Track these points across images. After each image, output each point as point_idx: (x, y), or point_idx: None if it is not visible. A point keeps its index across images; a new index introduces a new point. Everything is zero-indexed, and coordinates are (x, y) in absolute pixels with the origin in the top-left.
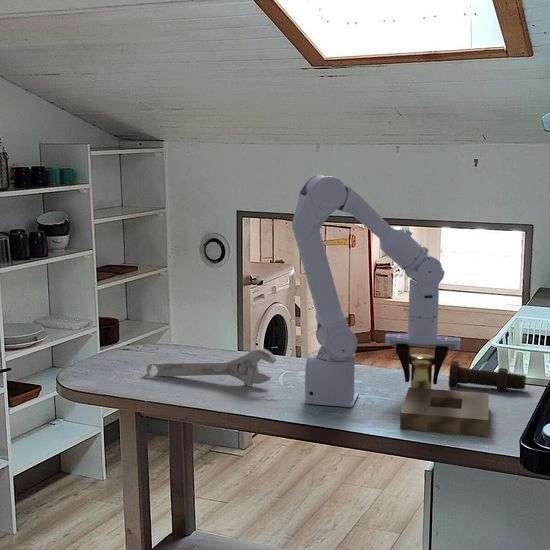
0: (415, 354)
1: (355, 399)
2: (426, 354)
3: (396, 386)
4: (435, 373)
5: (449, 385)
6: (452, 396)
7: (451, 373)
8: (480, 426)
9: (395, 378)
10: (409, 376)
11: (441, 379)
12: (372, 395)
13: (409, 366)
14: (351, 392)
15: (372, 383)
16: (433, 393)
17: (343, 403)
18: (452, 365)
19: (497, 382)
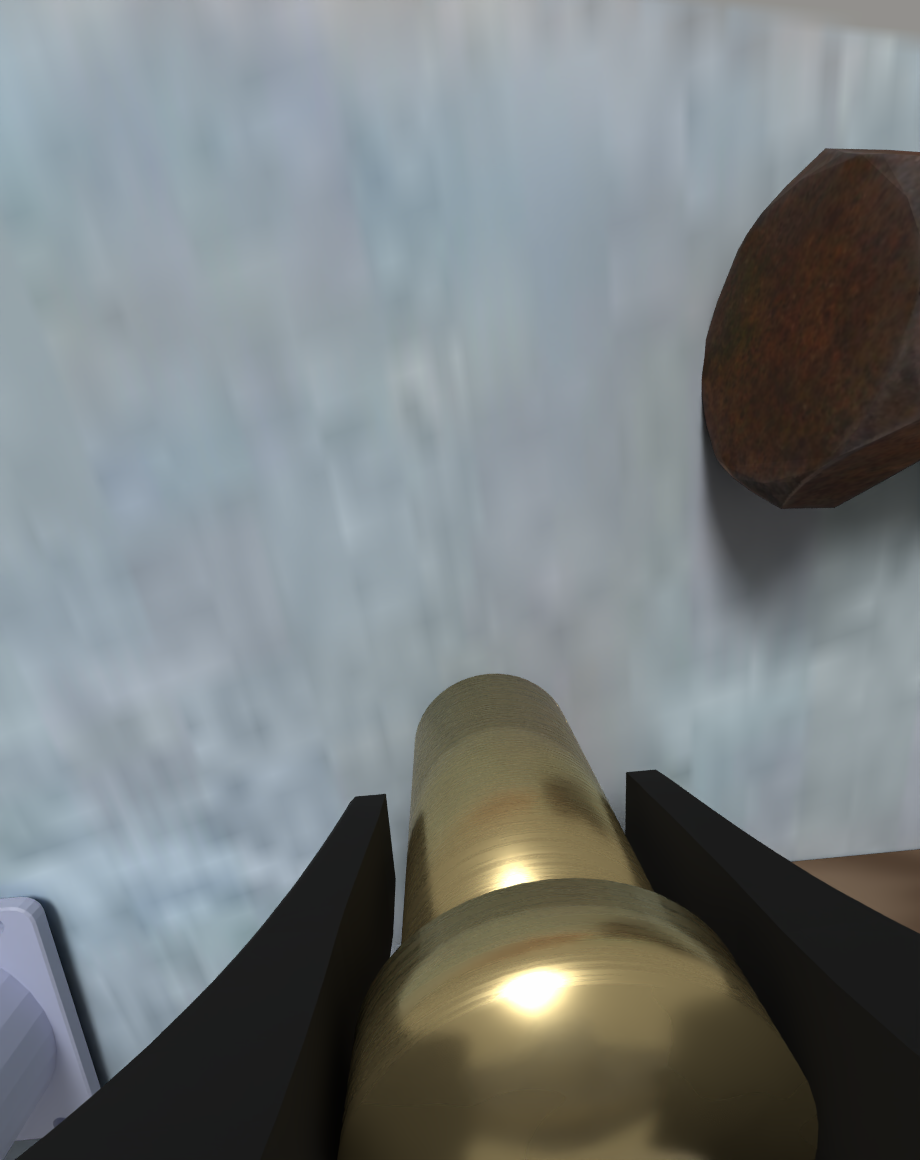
0: (428, 1063)
1: (70, 1033)
2: (653, 990)
3: (248, 570)
4: None
5: (714, 450)
6: None
7: (821, 486)
8: None
9: (162, 308)
10: (385, 854)
11: (623, 188)
12: (139, 846)
13: (356, 891)
14: (4, 1145)
15: (12, 552)
16: None
17: (30, 1121)
18: (916, 423)
19: None
